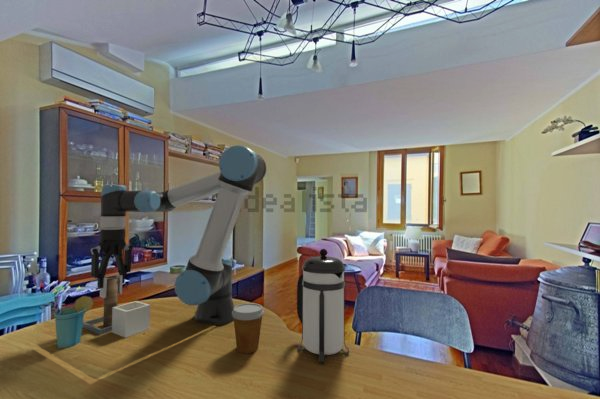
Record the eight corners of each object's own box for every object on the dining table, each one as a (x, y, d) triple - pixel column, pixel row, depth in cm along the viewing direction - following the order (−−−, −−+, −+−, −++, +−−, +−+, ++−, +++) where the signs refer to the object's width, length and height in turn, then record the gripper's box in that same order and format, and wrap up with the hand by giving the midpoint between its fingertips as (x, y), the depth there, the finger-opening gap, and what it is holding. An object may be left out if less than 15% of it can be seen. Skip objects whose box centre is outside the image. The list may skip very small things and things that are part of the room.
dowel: (119, 324, 102) (120, 278, 102) (106, 328, 98) (108, 280, 99) (113, 322, 104) (114, 276, 104) (100, 325, 100) (102, 279, 101)
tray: (137, 325, 103) (137, 318, 103) (100, 338, 93) (100, 330, 93) (118, 318, 109) (118, 312, 109) (81, 330, 99) (82, 322, 99)
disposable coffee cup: (270, 348, 87) (270, 307, 87) (243, 359, 80) (244, 315, 80) (250, 338, 93) (251, 300, 94) (224, 348, 86) (225, 307, 87)
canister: (149, 331, 98) (150, 304, 98) (125, 340, 91) (126, 311, 91) (135, 326, 102) (136, 300, 102) (111, 335, 95) (112, 307, 95)
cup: (47, 362, 78) (49, 305, 78) (28, 357, 80) (30, 302, 81) (98, 340, 91) (99, 292, 92) (80, 336, 94) (82, 289, 94)
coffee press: (350, 341, 91) (350, 246, 93) (347, 368, 76) (347, 253, 77) (297, 335, 95) (298, 244, 97) (283, 360, 80) (284, 250, 81)
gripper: (131, 227, 112) (130, 288, 111) (79, 229, 97) (76, 300, 96) (143, 227, 108) (141, 290, 107) (90, 230, 93) (87, 304, 92)
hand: (111, 295), depth 101 cm, fingers open, 4 cm apart
